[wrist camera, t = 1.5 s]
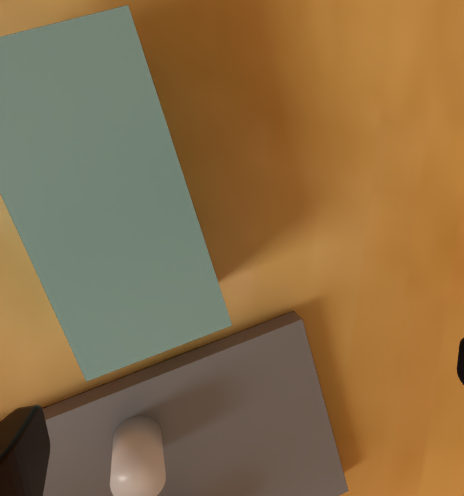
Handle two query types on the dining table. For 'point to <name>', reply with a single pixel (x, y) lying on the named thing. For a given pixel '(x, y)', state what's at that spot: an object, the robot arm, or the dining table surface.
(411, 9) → the dining table surface
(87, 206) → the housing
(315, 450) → the plate
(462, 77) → the dining table surface
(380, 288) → the dining table surface
